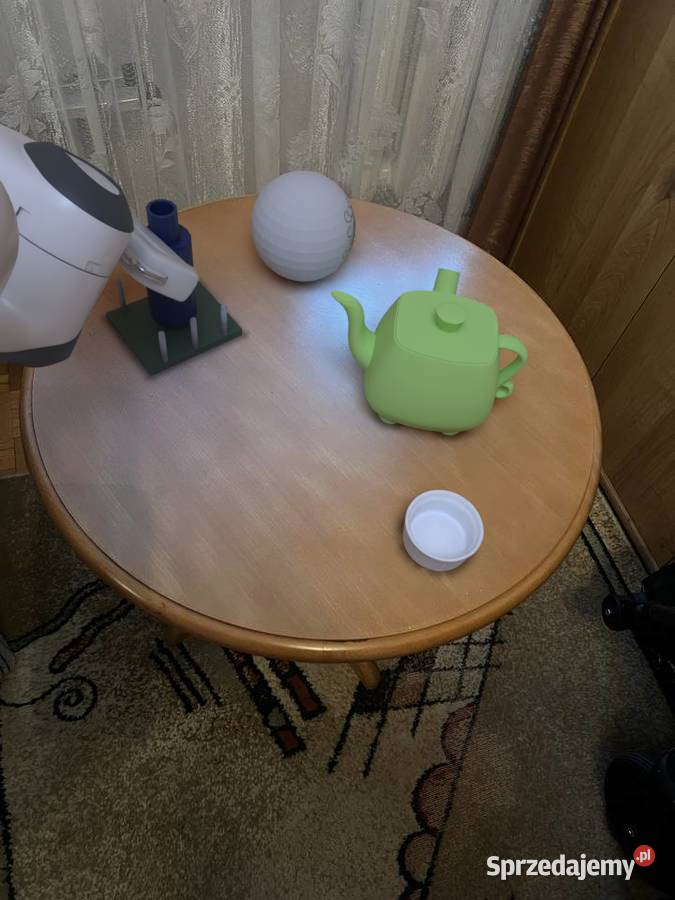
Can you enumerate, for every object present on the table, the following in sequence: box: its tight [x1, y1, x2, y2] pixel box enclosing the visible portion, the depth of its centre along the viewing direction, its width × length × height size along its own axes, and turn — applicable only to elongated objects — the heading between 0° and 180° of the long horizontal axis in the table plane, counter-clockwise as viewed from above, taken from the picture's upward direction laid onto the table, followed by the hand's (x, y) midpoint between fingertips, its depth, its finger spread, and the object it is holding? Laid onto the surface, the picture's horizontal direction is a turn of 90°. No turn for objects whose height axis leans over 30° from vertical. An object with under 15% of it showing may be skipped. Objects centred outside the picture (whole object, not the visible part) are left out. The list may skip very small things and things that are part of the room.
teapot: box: [330, 267, 529, 436], centre depth 83 cm, size 25×22×16 cm
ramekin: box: [402, 489, 485, 572], centre depth 74 cm, size 9×9×4 cm
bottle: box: [145, 198, 197, 328], centre depth 80 cm, size 6×6×16 cm
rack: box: [105, 277, 243, 377], centre depth 87 cm, size 14×12×6 cm
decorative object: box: [250, 169, 357, 282], centre depth 93 cm, size 15×15×15 cm
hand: (171, 256), depth 80 cm, fingers closed on bottle, 6 cm apart
